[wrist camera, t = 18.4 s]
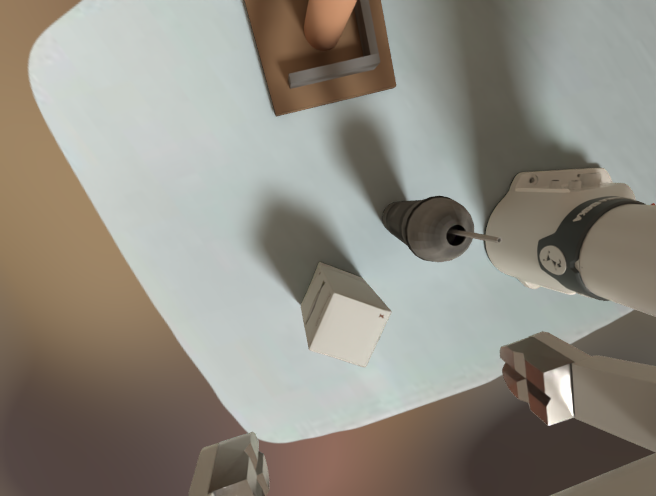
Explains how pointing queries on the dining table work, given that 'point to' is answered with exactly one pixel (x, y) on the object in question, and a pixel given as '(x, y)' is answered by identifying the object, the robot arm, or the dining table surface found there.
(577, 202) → the robot arm
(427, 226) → the beverage cup
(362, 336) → the supplement box
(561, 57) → the dining table surface
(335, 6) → the terracotta post
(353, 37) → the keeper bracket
